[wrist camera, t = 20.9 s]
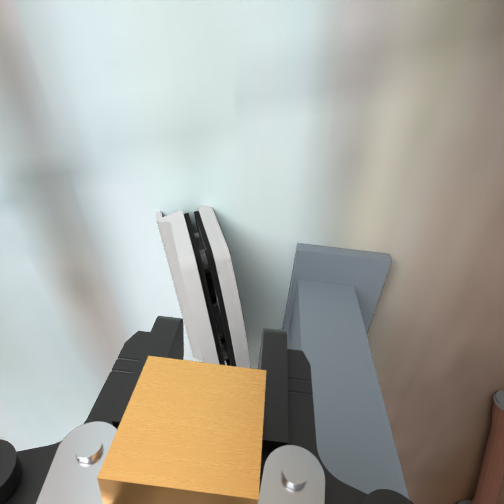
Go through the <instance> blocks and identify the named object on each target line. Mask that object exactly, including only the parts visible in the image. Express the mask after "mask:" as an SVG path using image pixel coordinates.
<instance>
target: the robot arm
mask: <svg viewBox="0 0 504 504" xmlns="http://www.w3.org/2000/svg"><path fill="white" fill-rule="evenodd" d="M183 355H184V341H183V319H181V318H173V317H164V316H158V317H157V319H156V321H155V323H154V325H153V328H152V330H151V332H143V331H138V332H137V333H135V334H134V335H133V336H132V337H131V338H130V339H129V340H128V341H126V342H125V344H124V346H123V348H122V350H121V352H120V354H119V356H118V360H116V362H115V364H114V366H113V368H112V372H110V374H109V376H108V378H107V380H106V382H105V384H104V386H103V388H102V390H101V392H100V394H99V396H98V398H97V400H96V402H95V404H94V406H93V408H92V410H91V412H90V414H89V416H88V418H87V420H86V421H85V423H84V424H83V425H81V426H79V427H77V428H75V429H74V430H72V431H71V432H70V433H69V434H68V435H67V436H66V437H65V438H64V439H63V440H62V441H61V442H58V443H56V444H53V445H49V446H44V447H39V448H33V449H28V450H23V451H18V452H16V451H15V448H14V447H13V445H12V444H11V443H9V442H8V441H5V440H1V439H0V504H103V501H102V497H101V493H100V488H99V484H98V480H97V477H98V475H99V472H100V470H101V467H102V465H103V463H104V460H105V458H106V456H107V453H108V451H109V448H110V446H111V444H112V441H113V439H114V436H115V434H116V432H117V429H118V427H119V425H120V422H121V420H122V417H123V415H124V413H125V410H126V408H127V406H128V403H129V401H130V398H131V396H132V394H133V391H134V389H135V386H136V384H137V382H138V379H139V377H140V375H141V372H142V370H143V367H144V365H145V363H146V360H147V358H148V356H155V357H163V358H171V359H179V360H183ZM258 369H259V370H266V385H265V402H264V419H263V435H262V452H261V469H260V486H259V501H258V504H413V503H412V502H411V501H410V500H409V499H408V498H406V497H405V496H403V495H402V494H400V493H398V492H396V491H393V490H390V489H377V490H374V491H372V492H371V493H369V494H366V493H364V492H362V491H360V490H358V489H356V488H354V487H352V486H350V485H347V484H345V483H344V482H342V481H340V480H338V479H337V478H336V477H334V476H333V475H332V474H331V473H330V472H329V471H328V470H327V468H326V467H325V466H324V464H323V463H322V461H321V459H320V457H319V454H318V450H317V442H316V429H315V416H314V403H313V390H312V377H311V365H310V363H309V361H308V359H307V358H306V356H305V354H304V352H303V351H302V350H293V349H287V331H281V330H273V329H263V334H262V341H261V348H260V356H259V363H258Z"/></svg>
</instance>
